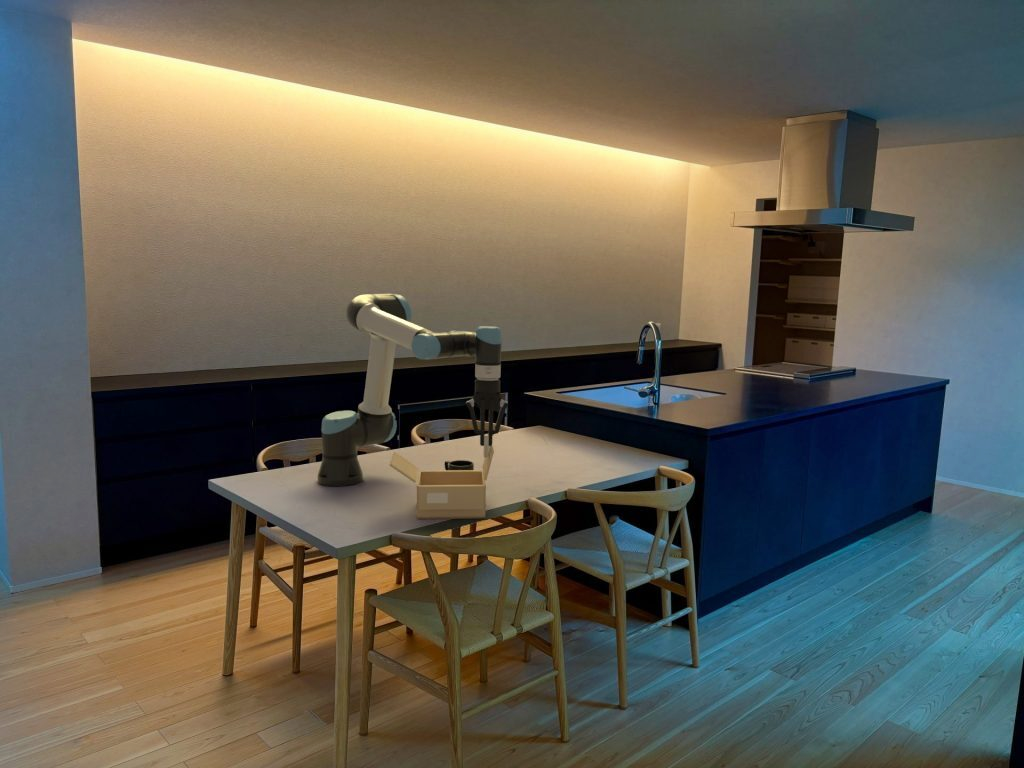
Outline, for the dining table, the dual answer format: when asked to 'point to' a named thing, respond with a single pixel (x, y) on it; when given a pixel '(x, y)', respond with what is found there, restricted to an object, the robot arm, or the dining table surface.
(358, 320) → the robot arm
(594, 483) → the dining table surface
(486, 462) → the flap right
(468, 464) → the mug
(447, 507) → the carton
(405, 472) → the flap left
